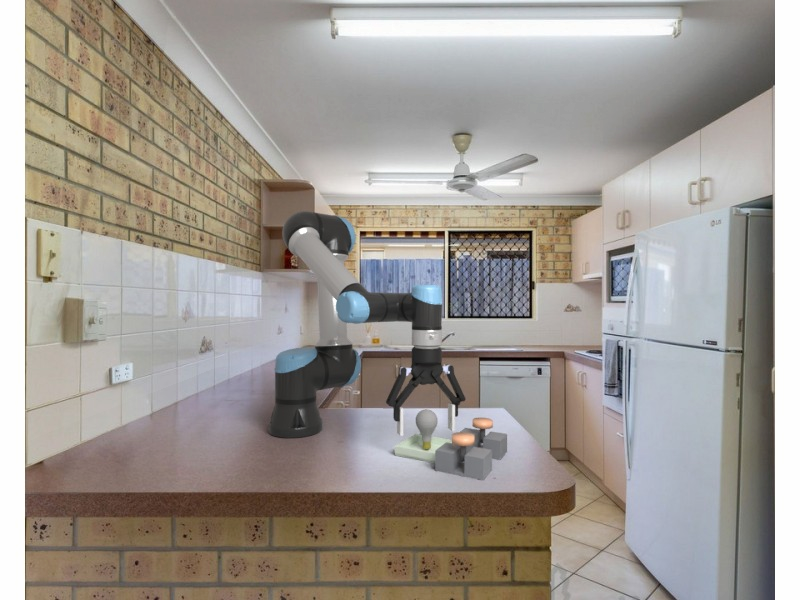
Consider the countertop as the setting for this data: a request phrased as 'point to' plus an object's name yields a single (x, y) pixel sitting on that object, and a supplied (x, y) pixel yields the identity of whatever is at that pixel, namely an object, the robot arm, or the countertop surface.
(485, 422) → the orange mushroom knob
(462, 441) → the plunger
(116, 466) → the countertop surface
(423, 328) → the robot arm
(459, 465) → the socket housing
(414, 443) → the tray
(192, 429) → the countertop surface
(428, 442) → the light bulb
